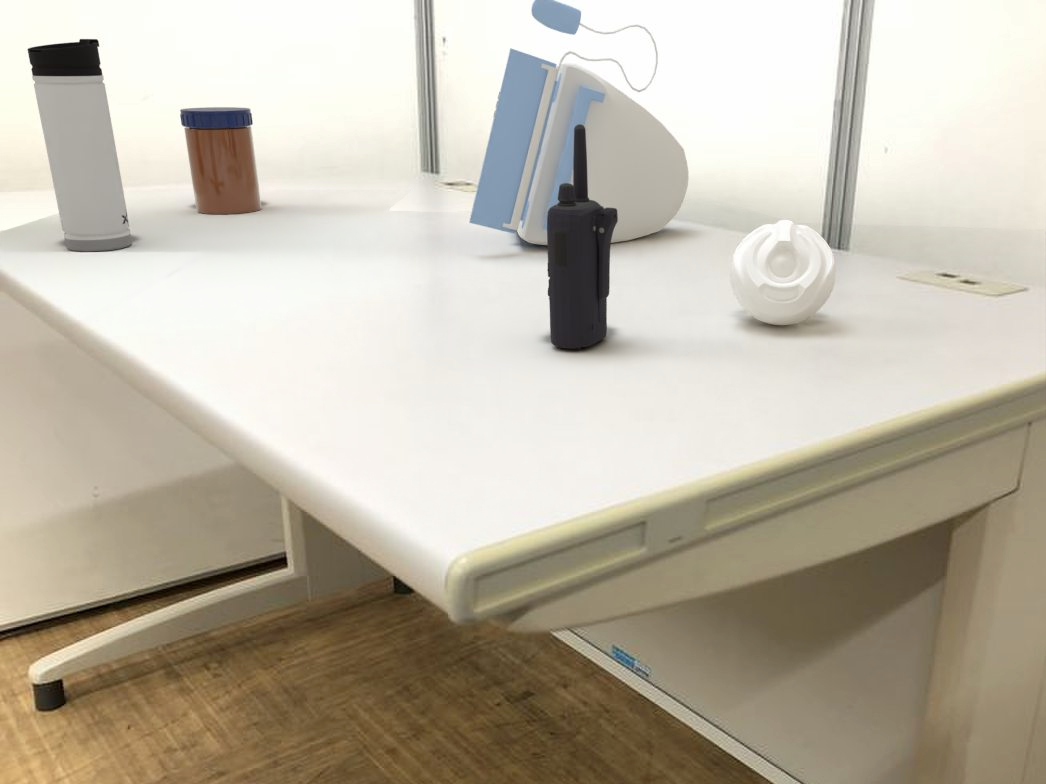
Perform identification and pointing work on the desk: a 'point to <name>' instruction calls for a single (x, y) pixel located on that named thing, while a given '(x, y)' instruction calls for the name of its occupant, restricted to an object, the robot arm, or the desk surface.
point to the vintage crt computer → (548, 145)
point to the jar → (223, 170)
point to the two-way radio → (578, 259)
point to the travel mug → (80, 145)
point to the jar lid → (216, 117)
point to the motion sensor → (782, 273)
